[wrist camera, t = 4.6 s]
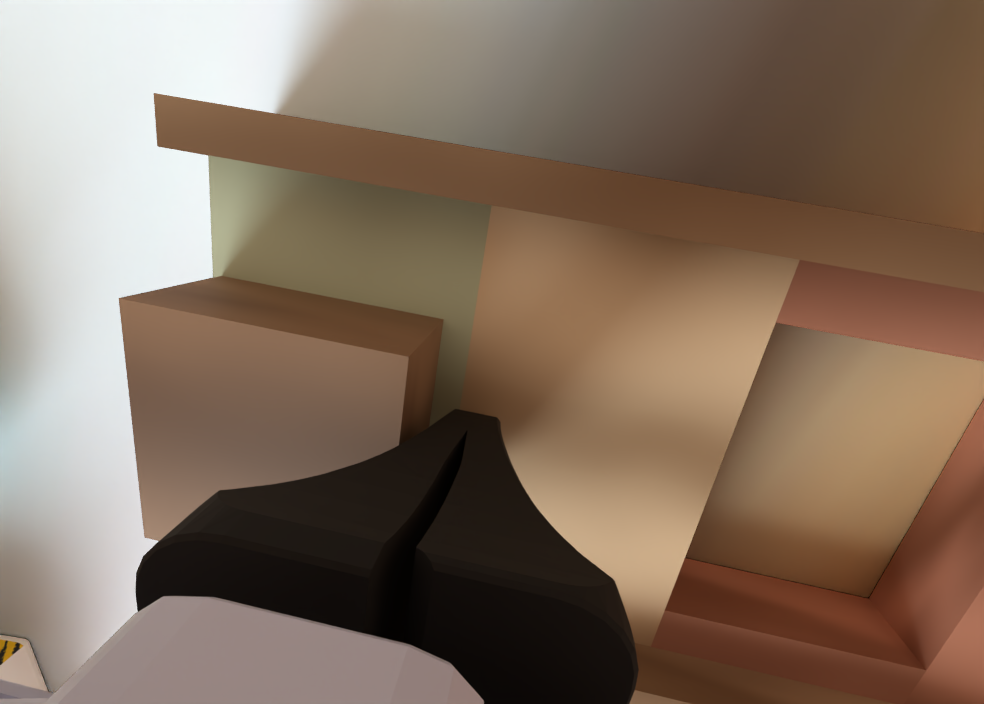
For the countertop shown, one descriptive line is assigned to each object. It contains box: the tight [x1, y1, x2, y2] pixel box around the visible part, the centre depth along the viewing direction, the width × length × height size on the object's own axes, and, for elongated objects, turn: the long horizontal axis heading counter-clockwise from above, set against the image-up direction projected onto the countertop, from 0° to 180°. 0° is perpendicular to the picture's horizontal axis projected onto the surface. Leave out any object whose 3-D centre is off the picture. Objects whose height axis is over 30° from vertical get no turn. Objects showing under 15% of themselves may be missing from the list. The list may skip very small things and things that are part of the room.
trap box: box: [154, 93, 984, 704], centre depth 12 cm, size 14×32×4 cm, turn 81°
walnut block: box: [119, 276, 444, 541], centre depth 11 cm, size 6×6×3 cm
